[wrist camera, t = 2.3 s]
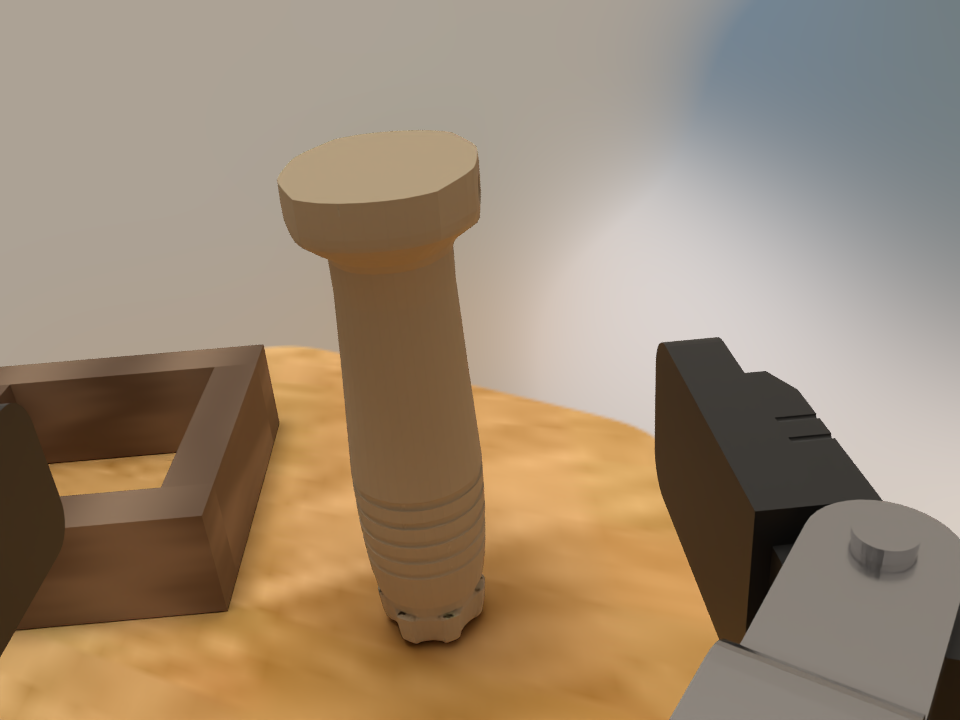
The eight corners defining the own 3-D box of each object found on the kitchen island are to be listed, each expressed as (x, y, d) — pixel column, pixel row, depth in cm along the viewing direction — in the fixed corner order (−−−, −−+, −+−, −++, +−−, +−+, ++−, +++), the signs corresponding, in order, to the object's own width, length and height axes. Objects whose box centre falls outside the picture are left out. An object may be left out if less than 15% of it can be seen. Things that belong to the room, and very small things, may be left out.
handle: (346, 694, 26) (251, 209, 19) (375, 550, 32) (310, 136, 25) (508, 689, 26) (471, 196, 19) (509, 546, 32) (480, 125, 25)
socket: (-133, 643, 30) (-183, 549, 28) (14, 445, 40) (-15, 368, 38) (227, 610, 30) (201, 515, 28) (279, 422, 40) (263, 344, 38)
